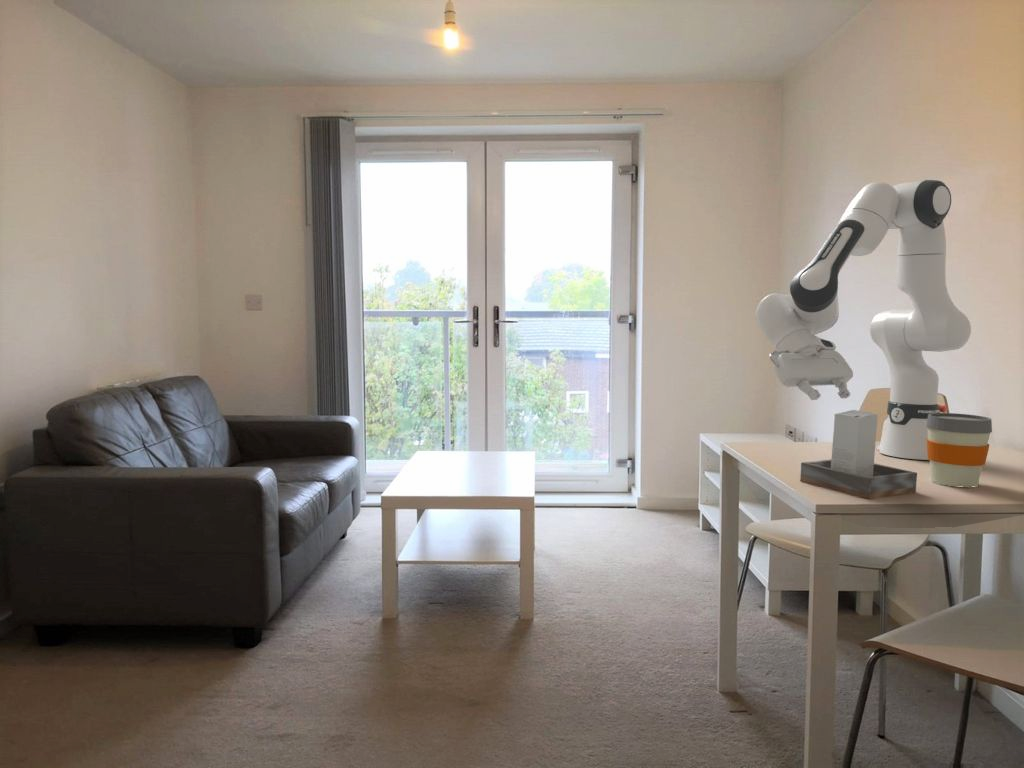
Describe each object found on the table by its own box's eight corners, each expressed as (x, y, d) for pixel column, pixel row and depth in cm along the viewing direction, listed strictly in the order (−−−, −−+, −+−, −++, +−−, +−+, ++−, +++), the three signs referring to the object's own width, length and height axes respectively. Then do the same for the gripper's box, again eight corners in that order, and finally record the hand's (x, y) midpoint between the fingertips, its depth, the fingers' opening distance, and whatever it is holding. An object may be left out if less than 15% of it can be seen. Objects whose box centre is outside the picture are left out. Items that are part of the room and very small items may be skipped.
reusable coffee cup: (965, 477, 169) (971, 413, 168) (1000, 490, 157) (1006, 421, 156) (911, 476, 170) (915, 412, 168) (941, 489, 157) (946, 420, 156)
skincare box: (847, 475, 164) (851, 409, 163) (874, 480, 159) (879, 412, 158) (828, 480, 159) (832, 412, 157) (856, 485, 154) (860, 415, 153)
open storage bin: (847, 475, 169) (848, 457, 169) (915, 492, 154) (917, 472, 154) (800, 481, 163) (801, 462, 162) (866, 499, 147) (868, 478, 147)
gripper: (774, 342, 165) (806, 390, 157) (838, 342, 174) (871, 387, 166) (758, 360, 169) (789, 408, 161) (821, 359, 178) (853, 404, 170)
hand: (831, 397), depth 164 cm, fingers open, 8 cm apart
